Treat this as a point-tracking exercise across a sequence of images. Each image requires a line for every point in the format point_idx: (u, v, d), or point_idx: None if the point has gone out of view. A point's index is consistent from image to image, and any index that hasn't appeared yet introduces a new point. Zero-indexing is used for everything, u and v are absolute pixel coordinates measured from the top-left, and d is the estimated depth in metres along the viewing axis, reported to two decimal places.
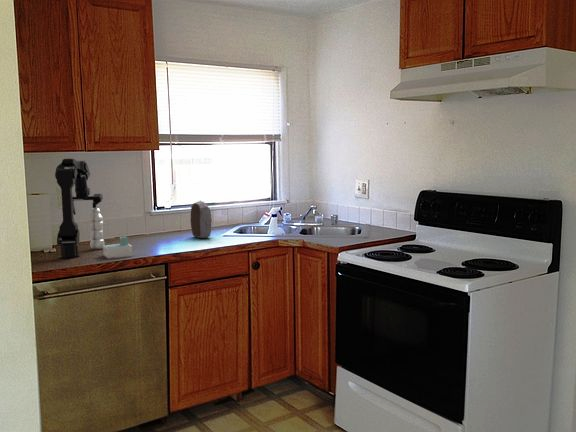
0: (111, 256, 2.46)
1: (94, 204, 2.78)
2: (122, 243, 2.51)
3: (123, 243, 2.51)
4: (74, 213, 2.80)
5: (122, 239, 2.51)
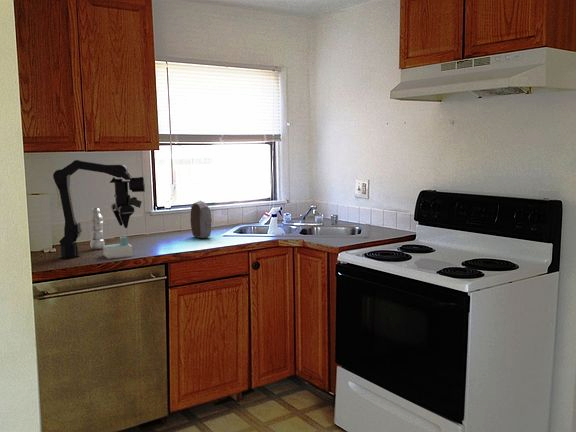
0: (111, 256, 2.46)
1: (119, 215, 2.45)
2: (122, 243, 2.51)
3: (123, 243, 2.51)
4: (119, 223, 2.55)
5: (122, 239, 2.51)
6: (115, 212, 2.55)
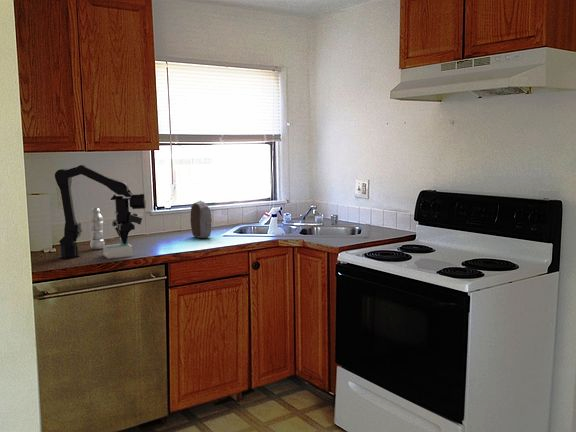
0: (111, 256, 2.46)
1: (118, 231, 2.48)
2: (122, 243, 2.51)
3: None
4: None
5: None
6: (117, 229, 2.52)
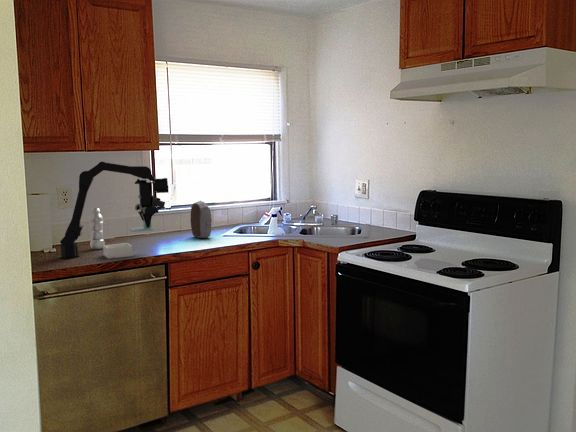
0: (111, 256, 2.46)
1: (142, 214, 2.52)
2: (145, 226, 2.55)
3: (146, 226, 2.56)
4: None
5: None
6: (141, 213, 2.57)
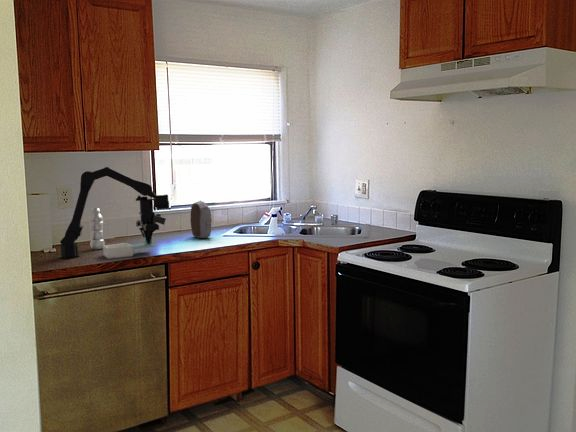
0: (111, 256, 2.46)
1: (143, 231, 2.53)
2: (146, 243, 2.56)
3: (147, 243, 2.56)
4: None
5: None
6: (141, 230, 2.58)
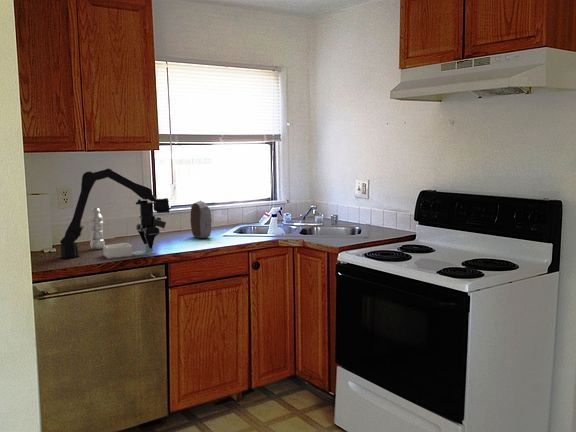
0: (111, 256, 2.46)
1: (144, 236, 2.51)
2: (147, 250, 2.57)
3: (148, 250, 2.57)
4: (144, 243, 2.61)
5: (147, 246, 2.57)
6: (140, 232, 2.60)
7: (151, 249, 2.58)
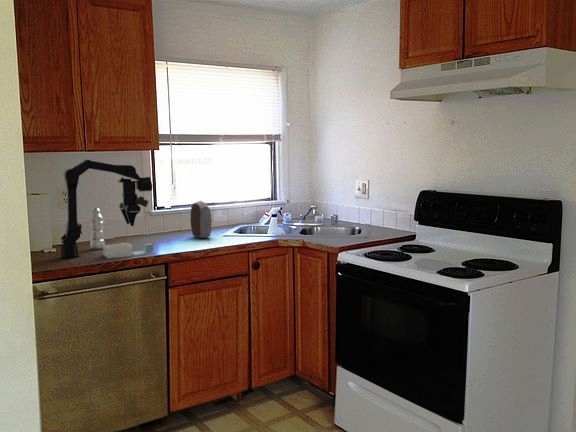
0: (111, 256, 2.46)
1: (126, 213, 2.54)
2: (147, 250, 2.57)
3: (148, 250, 2.57)
4: (126, 221, 2.65)
5: (147, 246, 2.57)
6: (123, 211, 2.64)
7: (151, 249, 2.58)
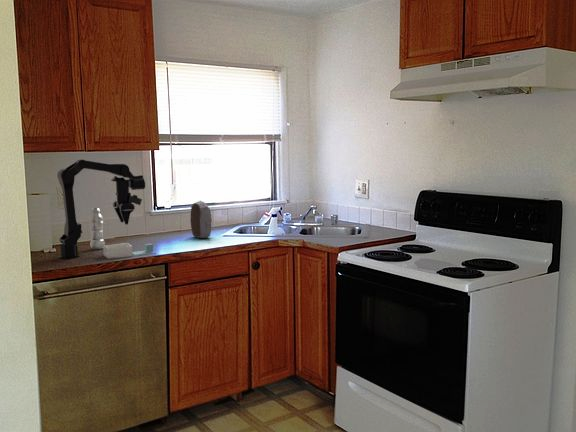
0: (111, 256, 2.46)
1: (120, 212, 2.56)
2: (147, 250, 2.57)
3: (148, 250, 2.57)
4: (120, 220, 2.67)
5: (147, 246, 2.57)
6: (116, 209, 2.66)
7: (151, 249, 2.58)
